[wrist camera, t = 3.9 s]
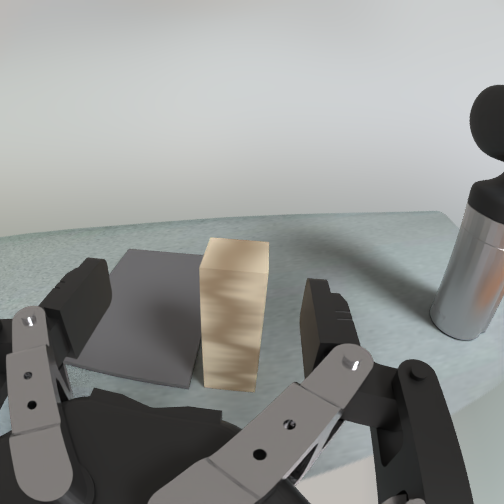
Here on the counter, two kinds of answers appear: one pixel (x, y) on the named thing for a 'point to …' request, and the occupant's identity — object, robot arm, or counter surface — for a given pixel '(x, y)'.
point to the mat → (149, 320)
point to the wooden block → (232, 311)
